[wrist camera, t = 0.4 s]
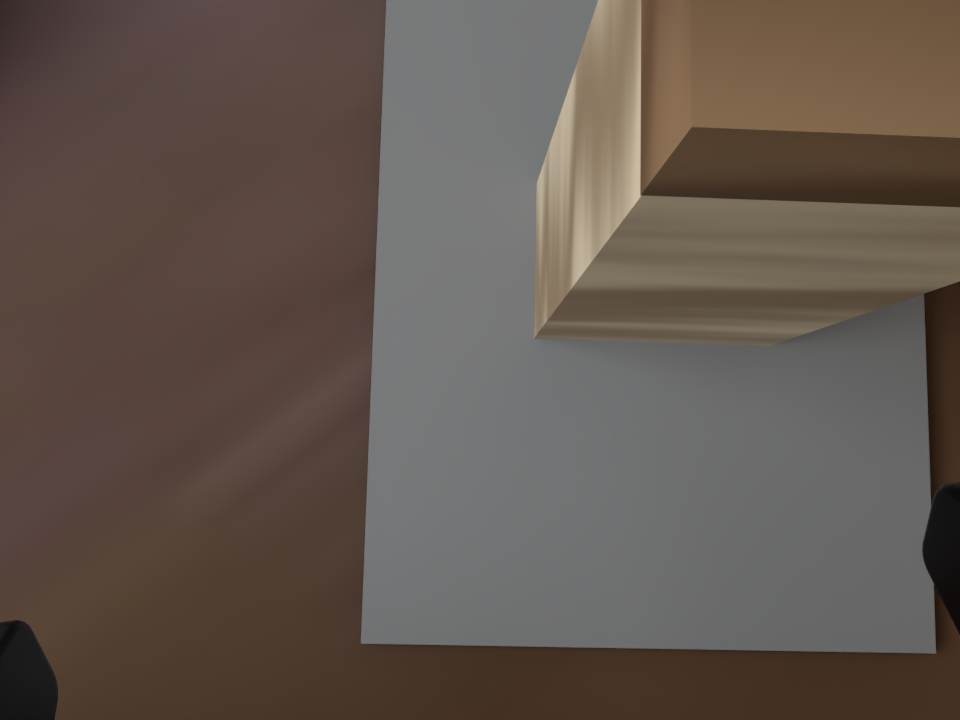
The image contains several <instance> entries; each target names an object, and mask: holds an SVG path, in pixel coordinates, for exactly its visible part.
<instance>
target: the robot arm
mask: <svg viewBox="0 0 960 720" xmlns="http://www.w3.org/2000/svg"><path fill="white" fill-rule="evenodd" d="M922 555H923V560H924V563H925V567H926V569H927V571H928V573H929V575H930V577H931V579H932V581H933V583H934V585H935V587H936V589H937V591H938V593H939V595H940V597H941V599H942V601H943V603H944V605H945V607H946V609H947V611H948V613H949V615H950V617H951V619H952V621H953V623H954V625H955V627H956V628H957V630H958V632H959V634H960V482H957V483H950V484H945V485H943V486H941V487H939V489H938V490H937V491H936V492H935V494H934V497H933V501H932V506H931V510H930V514H929V518H928V522H927V526H926V531H925V535H924V539H923V544H922ZM57 700H58V687H57V681H56V677H55V675H54V672H53V670H52V668H51V666H50V664H49V662H48V660H47V658H46V656H45V654H44V652H43V650H42V648H41V647H40V645H39V643H38V641H37V639H36V637H35V635H34V633H33V631H32V629H31V628H30V626H29V625H28V624H26V623H25V622H23V621H18V620H14V621H7V622H0V720H54V719H55V713H56V707H57Z"/></svg>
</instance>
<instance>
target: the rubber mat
mask: <svg viewBox="0 0 960 720" xmlns="http://www.w3.org/2000/svg"><path fill="white" fill-rule="evenodd" d="M597 3H598V0H386V24H385V49H384V75H383V100H382V125H381V150H380V175H379V200H378V226H377V251H376V276H375V301H374V326H373V352H372V377H371V402H370V427H369V452H368V477H367V503H366V528H365V553H364V578H363V603H362V629H361V644H414V645H472V646H531V647H588V648H646V649H705V650H763V651H821V652H879V653H936V638H935V608H934V583H933V581H932V579H931V577H930V575H929V573H928V571H927V569H926V567H925V563H924V560H923V555H922V544H923V539H924V535H925V531H926V526H927V522H928V518H929V514H930V510H931V488H930V458H929V428H928V398H927V368H926V338H925V309H924V294H921V295H918V296H915V297H912V298H909V299H906V300H904V301H901V302H898V303H895V304H892V305H889V306H886V307H883V308H880V309H877V310H874V311H871V312H868V313H865V314H862V315H860V316H857V317H854V318H851V319H848V320H845V321H842V322H839V323H836V324H833V325H830V326H827V327H824V328H821V329H818V330H815V331H813V332H810V333H807V334H804V335H801V336H798V337H795V338H792V339H789V340H786V341H783V342H780V343H777V344H774V345H771V346H763V345H730V344H698V343H665V342H633V341H600V340H568V339H535V338H534V305H535V251H536V197H537V181H538V178H539V175H540V172H541V169H542V166H543V163H544V160H545V157H546V154H547V151H548V148H549V145H550V142H551V139H552V136H553V133H554V130H555V127H556V124H557V121H558V118H559V115H560V113H561V110H562V107H563V104H564V101H565V98H566V95H567V92H568V89H569V86H570V83H571V80H572V77H573V74H574V71H575V68H576V65H577V62H578V59H579V56H580V53H581V50H582V47H583V44H584V41H585V38H586V35H587V32H588V29H589V26H590V23H591V20H592V17H593V14H594V11H595V8H596V6H597Z"/></svg>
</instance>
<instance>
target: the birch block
mask: <svg viewBox="0 0 960 720" xmlns="http://www.w3.org/2000/svg"><path fill="white" fill-rule="evenodd" d="M959 281H960V0H598V3H597V6H596V8H595V11H594V14H593V17H592V20H591V23H590V26H589V29H588V32H587V35H586V38H585V41H584V44H583V47H582V50H581V53H580V56H579V59H578V62H577V65H576V68H575V71H574V74H573V77H572V80H571V83H570V86H569V89H568V92H567V95H566V98H565V101H564V104H563V107H562V110H561V113H560V115H559V118H558V121H557V124H556V127H555V130H554V133H553V136H552V139H551V142H550V145H549V148H548V151H547V154H546V157H545V160H544V163H543V166H542V169H541V172H540V175H539V178H538V181H537V197H536V251H535V305H534V338H535V339H568V340H600V341H633V342H665V343H698V344H730V345H763V346H771V345H774V344H777V343H780V342H783V341H786V340H789V339H792V338H795V337H798V336H801V335H804V334H807V333H810V332H813V331H815V330H818V329H821V328H824V327H827V326H830V325H833V324H836V323H839V322H842V321H845V320H848V319H851V318H854V317H857V316H860V315H862V314H865V313H868V312H871V311H874V310H877V309H880V308H883V307H886V306H889V305H892V304H895V303H898V302H901V301H904V300H906V299H909V298H912V297H915V296H918V295H921V294H924V293H927V292H930V291H933V290H936V289H939V288H942V287H945V286H948V285H951V284H953V283H956V282H959Z"/></svg>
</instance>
